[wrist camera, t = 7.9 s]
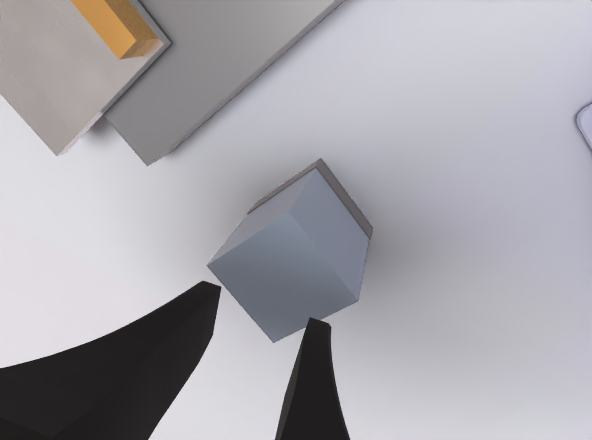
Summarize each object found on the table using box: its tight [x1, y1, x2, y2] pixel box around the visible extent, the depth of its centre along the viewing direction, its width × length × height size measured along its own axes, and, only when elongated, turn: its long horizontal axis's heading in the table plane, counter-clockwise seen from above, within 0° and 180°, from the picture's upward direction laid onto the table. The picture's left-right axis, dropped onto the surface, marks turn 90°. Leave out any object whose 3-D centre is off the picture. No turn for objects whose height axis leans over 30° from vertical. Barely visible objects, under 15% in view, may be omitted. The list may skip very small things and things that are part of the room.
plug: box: [207, 158, 373, 343], centre depth 18 cm, size 4×4×6 cm
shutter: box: [0, 0, 171, 156], centre depth 16 cm, size 8×8×2 cm
